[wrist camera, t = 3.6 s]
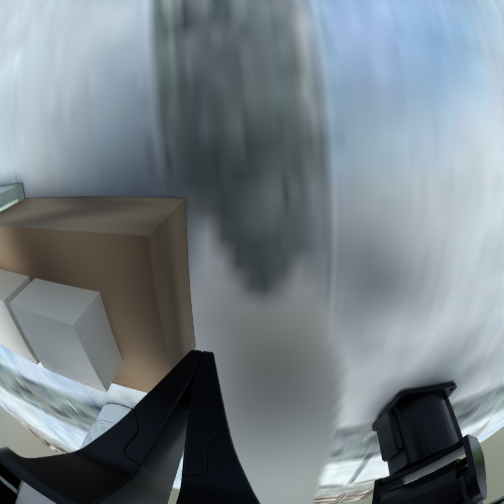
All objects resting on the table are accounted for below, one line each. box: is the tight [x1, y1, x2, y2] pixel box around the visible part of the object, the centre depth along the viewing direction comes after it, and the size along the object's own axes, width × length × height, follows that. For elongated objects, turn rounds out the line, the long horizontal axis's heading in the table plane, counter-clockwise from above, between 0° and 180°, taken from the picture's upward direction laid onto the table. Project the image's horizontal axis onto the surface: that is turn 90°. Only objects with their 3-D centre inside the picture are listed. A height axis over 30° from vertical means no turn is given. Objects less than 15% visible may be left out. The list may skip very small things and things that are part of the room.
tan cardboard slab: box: [0, 197, 196, 393], centre depth 12 cm, size 11×9×4 cm
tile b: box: [0, 269, 40, 364], centre depth 9 cm, size 4×4×2 cm
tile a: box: [10, 278, 123, 392], centre depth 9 cm, size 4×4×2 cm
